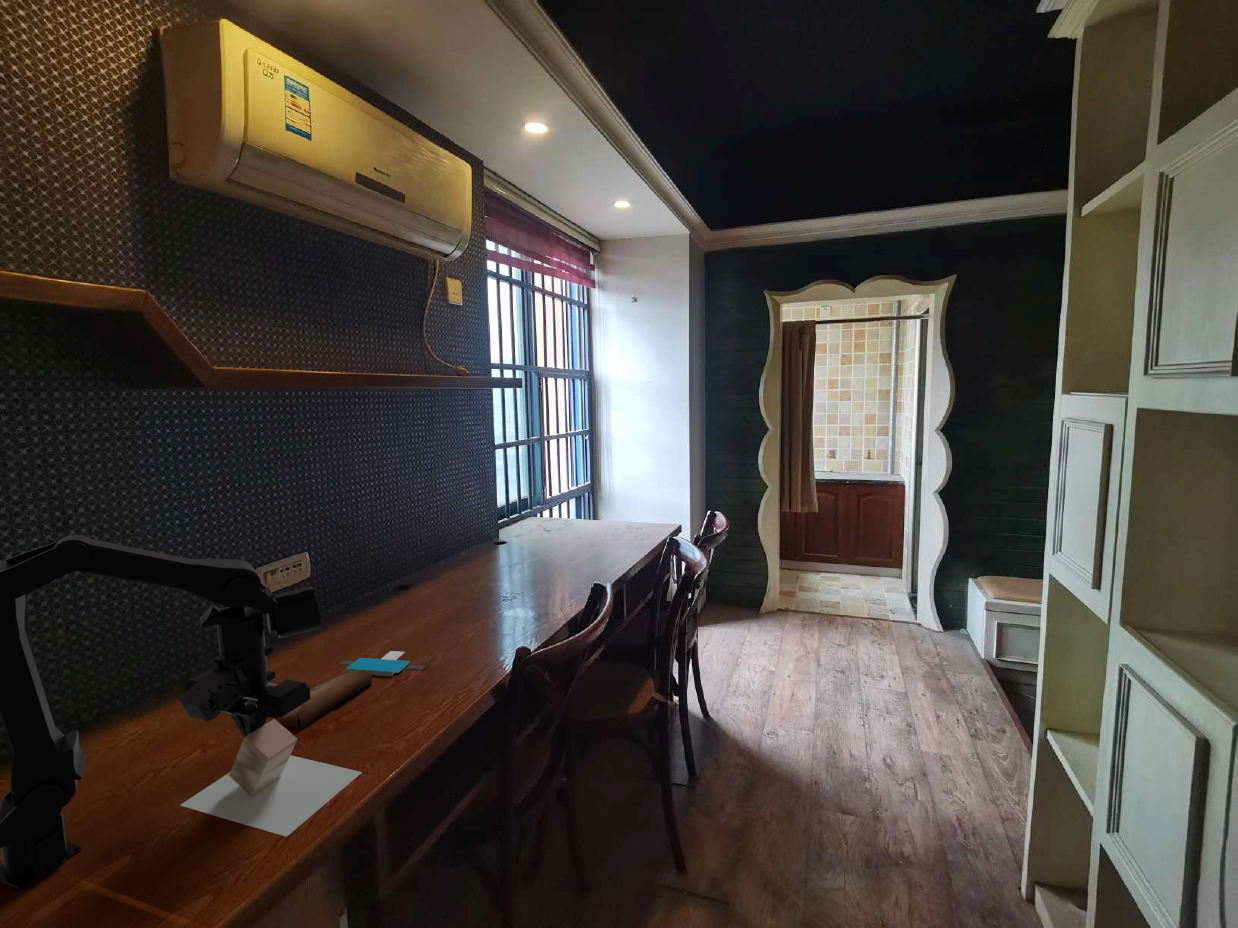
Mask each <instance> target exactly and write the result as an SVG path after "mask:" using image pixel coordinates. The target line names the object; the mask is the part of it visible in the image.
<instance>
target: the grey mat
mask: <svg viewBox="0 0 1238 928" xmlns="http://www.w3.org/2000/svg"><path fill="white" fill-rule="evenodd" d="M229 774H230V772H228V773H226V774H225V775H224V776H222V777H220V778H219V779H217V780H216V781H215V782H213V783H211V784H210V785H208V786H207V787H205V788H204V789H202V790H201V791H199V792H198V793H196V794H195V795H194V796H191V797H190V798H188V799H187V800H186V801H184V802H183V803H181V804H179V806H180V807H183V808H188V809H189V810H194V811H196V812H197V811H198V812H201V813H203V814H208V815H210V816H215V817H217V818H221V819H224V820H227V821H232V822H235V823H237V824H241V825H245V826H248V827H252V828H256V829H258V830H262V831H265V832H269V833H272V834H276V835H279V836H282V837H286V838H287V837H288V836H289V835H291V834H292V833H293V832H294V831H296V830H297V829H298V828H299V827H300V826H301V825H303V824H304V823H305V822H306V821H307V820H309V819H310V818H311V817H312V816H313V815H314V814H316V813H317V812H318V811H319V810H320V809H321V808H322V807H324V806H325V805H326V804H327V803H329V801H331V800H332V799H333V798H334V797H335V796H337V795H338V794H339V793H340V792H341V791H342V790H343V789H344V788H345V789H346V787H347V786H348V785H350V784H351V783H352V782H353V781H354V780H355V779H356V778H357V777H359V776H360V775H361V774H363V772H362V771H359V770H355V769H350V768H346V767H341V766H337V765H333V764H329V763H324V762H321V761H316V760H311V759H307V758H304V757H300V756H295V755H292V754H291V755H290V757H289V759H288V761H287V764H286V766H285V768H284V770H283V773H282V775H281V776H280V777H279V778H277V779H276V780H275V781H273V782H272V783H271V784H269V785H268V786H266V787H265V788H264V789H262V790H261V791H260V792H258V793H257V794H256V795H254V796H253V797H252V796H251V795H249V794H248V793H247V792H246V791H245V790H244V789H243V788H242V787H241V786H240V785H238V784H237V783H236V782H235V781H234V780H233V779H232V778H231V777H230V776H229Z"/></svg>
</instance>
